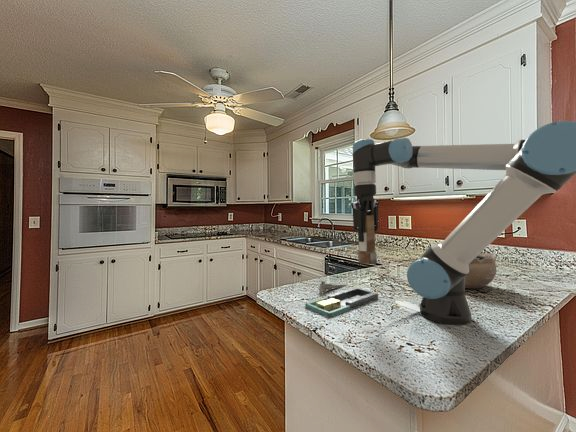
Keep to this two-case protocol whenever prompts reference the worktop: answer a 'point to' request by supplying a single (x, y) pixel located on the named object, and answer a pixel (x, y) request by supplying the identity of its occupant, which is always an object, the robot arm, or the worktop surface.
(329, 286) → the caliper
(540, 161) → the robot arm
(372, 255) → the brown long block
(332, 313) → the tray
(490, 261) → the ceramic bowl
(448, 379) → the worktop surface
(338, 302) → the chip
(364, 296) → the grey shallow bin
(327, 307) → the tan block
